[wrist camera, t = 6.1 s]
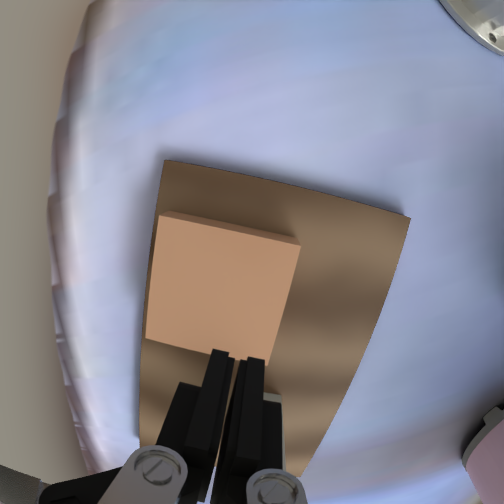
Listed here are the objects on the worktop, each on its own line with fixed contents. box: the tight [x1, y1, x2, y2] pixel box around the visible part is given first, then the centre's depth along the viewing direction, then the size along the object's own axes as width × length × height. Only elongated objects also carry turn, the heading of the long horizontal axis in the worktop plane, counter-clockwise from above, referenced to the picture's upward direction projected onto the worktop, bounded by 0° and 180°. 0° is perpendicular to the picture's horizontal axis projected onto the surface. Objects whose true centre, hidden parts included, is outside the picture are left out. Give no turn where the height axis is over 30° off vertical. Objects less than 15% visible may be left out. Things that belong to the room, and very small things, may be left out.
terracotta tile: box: [145, 211, 301, 366], centre depth 19 cm, size 8×2×8 cm
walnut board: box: [139, 160, 411, 477], centre depth 23 cm, size 26×16×1 cm, turn 168°
